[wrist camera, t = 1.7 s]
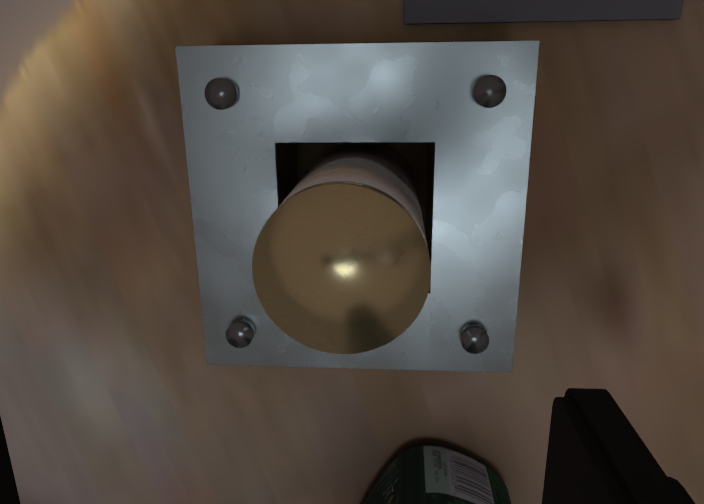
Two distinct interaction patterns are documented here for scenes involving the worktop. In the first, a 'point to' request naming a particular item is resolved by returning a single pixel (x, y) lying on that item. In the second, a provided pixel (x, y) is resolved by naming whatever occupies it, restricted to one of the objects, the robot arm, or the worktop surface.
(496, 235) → the housing
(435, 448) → the coffee jar
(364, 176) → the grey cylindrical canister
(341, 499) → the worktop surface
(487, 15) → the rubber mat
